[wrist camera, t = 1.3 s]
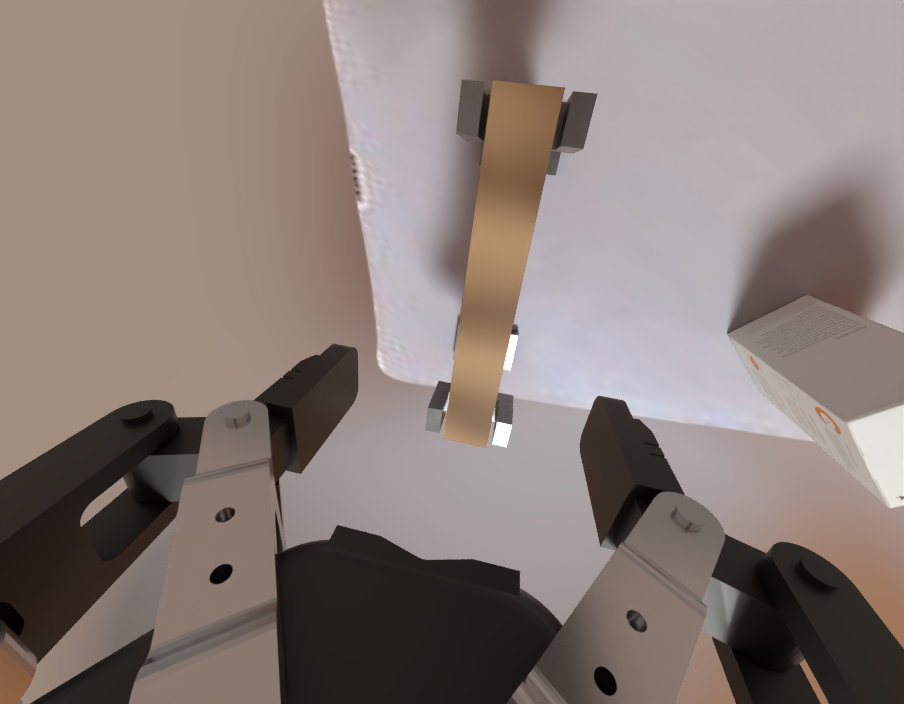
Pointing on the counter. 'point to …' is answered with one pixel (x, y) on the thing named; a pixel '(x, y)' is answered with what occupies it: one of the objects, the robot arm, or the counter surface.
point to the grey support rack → (566, 140)
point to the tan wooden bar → (499, 248)
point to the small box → (835, 385)
